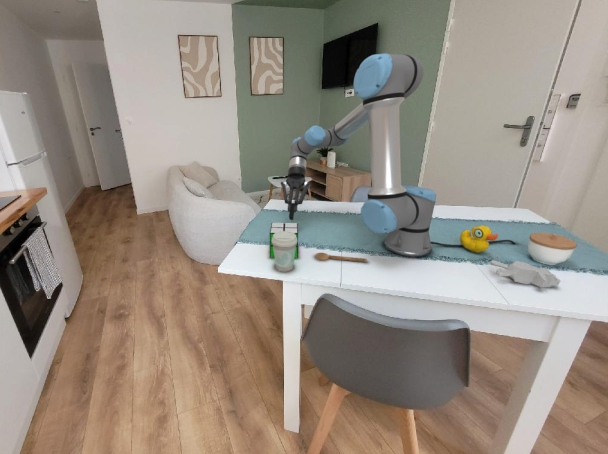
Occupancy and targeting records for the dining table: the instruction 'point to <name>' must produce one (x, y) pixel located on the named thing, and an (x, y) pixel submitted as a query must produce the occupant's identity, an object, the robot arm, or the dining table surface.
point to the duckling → (477, 238)
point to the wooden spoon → (337, 257)
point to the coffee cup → (284, 250)
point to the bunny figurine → (527, 274)
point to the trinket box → (550, 248)
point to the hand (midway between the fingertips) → (291, 218)
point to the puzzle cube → (283, 227)
